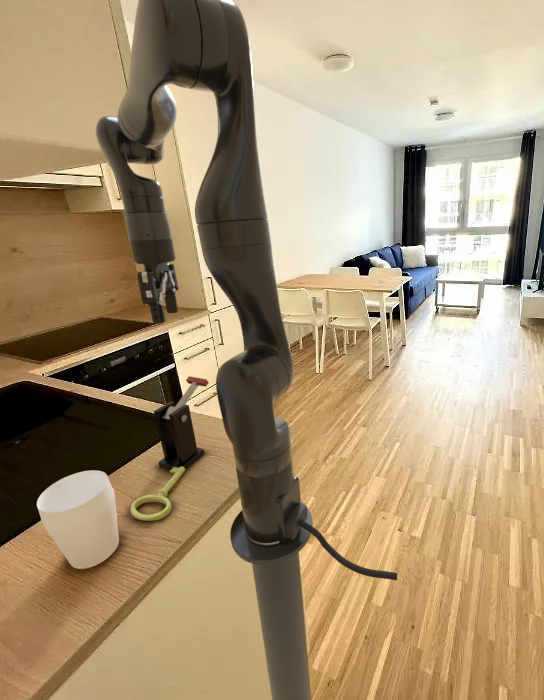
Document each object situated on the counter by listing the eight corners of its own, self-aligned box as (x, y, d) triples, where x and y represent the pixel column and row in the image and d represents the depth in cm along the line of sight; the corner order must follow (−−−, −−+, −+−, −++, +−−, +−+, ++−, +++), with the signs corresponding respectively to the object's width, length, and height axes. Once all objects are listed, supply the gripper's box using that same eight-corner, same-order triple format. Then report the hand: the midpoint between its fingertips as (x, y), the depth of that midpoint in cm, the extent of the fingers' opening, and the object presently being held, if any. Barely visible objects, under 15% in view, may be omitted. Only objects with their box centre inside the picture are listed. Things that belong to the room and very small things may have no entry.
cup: (52, 586, 51) (24, 522, 47) (69, 537, 59) (47, 479, 55) (123, 564, 54) (103, 501, 50) (131, 520, 62) (114, 463, 58)
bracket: (183, 447, 82) (173, 398, 77) (204, 453, 80) (195, 402, 75) (159, 466, 76) (146, 413, 71) (180, 473, 74) (169, 419, 69)
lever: (192, 381, 81) (187, 374, 80) (210, 384, 80) (205, 377, 78) (163, 422, 75) (156, 416, 73) (181, 426, 73) (175, 420, 71)
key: (187, 472, 74) (185, 464, 73) (167, 520, 62) (165, 510, 61) (151, 476, 73) (149, 467, 72) (124, 524, 62) (121, 515, 61)
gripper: (158, 238, 64) (174, 326, 69) (181, 235, 77) (193, 308, 83) (113, 240, 63) (134, 328, 69) (144, 236, 76) (159, 310, 82)
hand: (166, 317), depth 76 cm, fingers open, 8 cm apart
